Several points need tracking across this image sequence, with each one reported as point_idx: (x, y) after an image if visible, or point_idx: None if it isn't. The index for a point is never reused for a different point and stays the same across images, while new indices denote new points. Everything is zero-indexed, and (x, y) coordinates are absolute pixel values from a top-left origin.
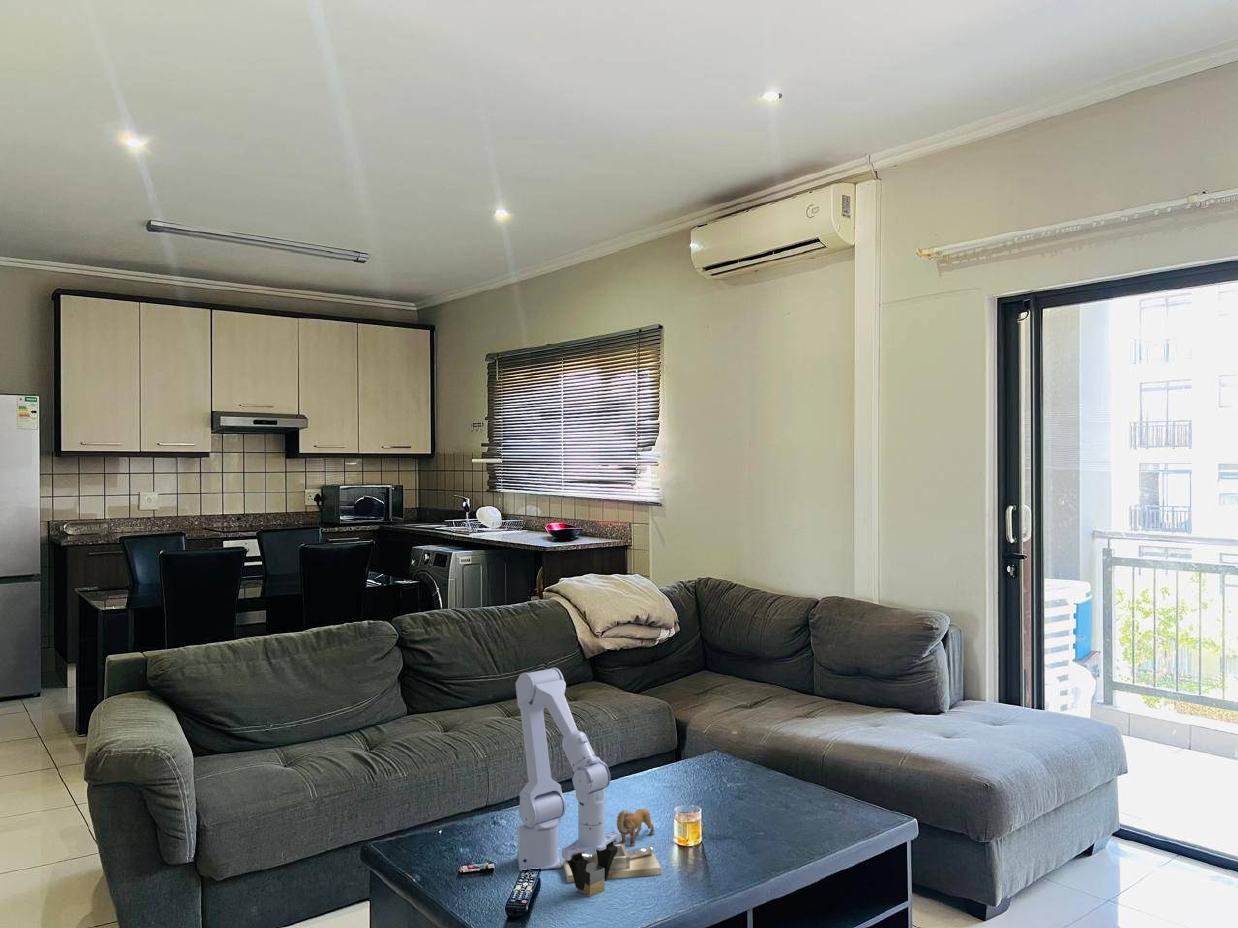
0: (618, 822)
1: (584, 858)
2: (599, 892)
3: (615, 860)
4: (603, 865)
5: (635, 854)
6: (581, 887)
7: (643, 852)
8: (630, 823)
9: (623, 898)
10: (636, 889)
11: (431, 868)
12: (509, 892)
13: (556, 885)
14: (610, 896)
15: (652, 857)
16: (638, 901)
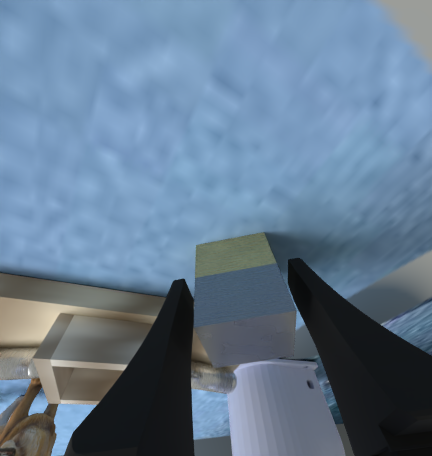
0: None
1: (193, 372)
2: (219, 241)
3: (104, 352)
4: (180, 341)
5: (18, 360)
6: (305, 264)
7: None
8: None
9: (147, 160)
10: (63, 205)
11: None
12: (403, 317)
13: (298, 310)
14: (195, 201)
15: None
16: (74, 86)
